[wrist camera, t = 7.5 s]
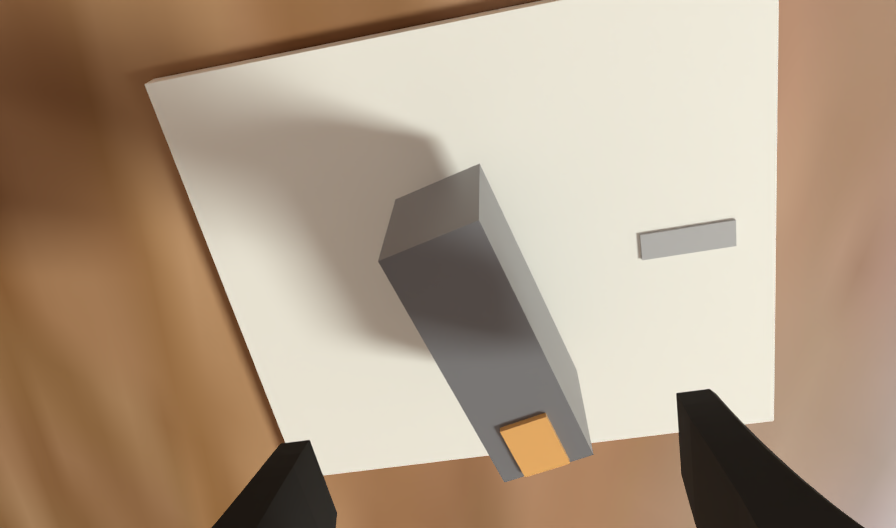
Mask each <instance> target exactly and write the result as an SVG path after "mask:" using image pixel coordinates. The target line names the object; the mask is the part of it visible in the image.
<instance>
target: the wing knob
mask: <svg viewBox="0 0 896 528" xmlns="http://www.w3.org/2000/svg"><path fill="white" fill-rule="evenodd" d="M378 262H379V264H380V266H381V267H382V269H383V271H384V273H385V274H386V276H387V278H388V280H389V281H390V283H391V285H392V287H393V288H394V290H395V292H396V294H397V295H398V297H399V299H400V301H401V302H402V304H403V306H404V308H405V309H406V311H407V313H408V315H409V316H410V318H411V320H412V322H413V323H414V325H415V327H416V329H417V330H418V332H419V334H420V336H421V337H422V339H423V341H424V343H425V344H426V346H427V348H428V350H429V351H430V353H431V355H432V357H433V358H434V360H435V362H436V364H437V365H438V367H439V369H440V371H441V372H442V374H443V376H444V378H445V379H446V381H447V383H448V384H449V386H450V388H451V390H452V391H453V393H454V395H455V397H456V398H457V400H458V402H459V404H460V405H461V407H462V409H463V411H464V412H465V414H466V416H467V418H468V419H469V421H470V423H471V425H472V426H473V428H474V430H475V432H476V433H477V435H478V437H479V439H480V440H481V442H482V444H483V446H484V447H485V449H486V451H487V453H488V454H489V456H490V458H491V460H492V461H493V463H494V465H495V467H496V468H497V470H498V472H499V474H500V475H501V477H502V479H503V481H504V482H507V481H510V480H514V479H517V478H520V477H523V476H525V477H528V476H531V475H535V474H538V473H541V472H544V471H547V470H551V469H554V468H557V467H560V466H564V465H567V464H570V462H571V461H575V460H578V459H581V458H584V457H588V456H591V455H593V450H592V445H591V440H590V435H589V430H588V425H587V419H586V414H585V409H584V404H583V399H582V394H581V389H580V384H579V379H578V373H577V370H576V368H575V366H574V363H573V361H572V359H571V357H570V355H569V353H568V351H567V348H566V346H565V344H564V342H563V340H562V338H561V336H560V334H559V331H558V329H557V327H556V325H555V323H554V321H553V319H552V317H551V314H550V312H549V310H548V308H547V306H546V304H545V302H544V299H543V297H542V295H541V293H540V291H539V289H538V287H537V285H536V282H535V280H534V278H533V276H532V274H531V272H530V270H529V268H528V265H527V263H526V261H525V259H524V257H523V255H522V253H521V250H520V248H519V246H518V244H517V242H516V240H515V238H514V236H513V233H512V231H511V229H510V227H509V225H508V223H507V221H506V219H505V216H504V214H503V212H502V210H501V208H500V206H499V204H498V202H497V199H496V197H495V195H494V193H493V191H492V189H491V187H490V184H489V182H488V180H487V178H486V176H485V174H484V172H483V170H482V167H481V165H480V163H479V164H477V165H475V166H472V167H470V168H468V169H465V170H463V171H461V172H458V173H456V174H454V175H451V176H449V177H447V178H444V179H442V180H440V181H437V182H435V183H433V184H430V185H428V186H426V187H423V188H421V189H419V190H416V191H414V192H412V193H409V194H407V195H405V196H402V197H400V198H398V199H395V203H394V206H393V210H392V213H391V217H390V220H389V224H388V228H387V231H386V235H385V238H384V242H383V245H382V249H381V252H380V256H379V259H378Z"/></svg>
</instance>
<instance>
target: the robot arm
mask: <svg viewBox="0 0 896 528" xmlns="http://www.w3.org/2000/svg"><path fill="white" fill-rule="evenodd" d="M676 399H677V414H678V429H679V444H680V459H681V474H682V478H683V482H684V485H685V489H686V493H687V496H688V500H689V503H690V507H691V510H692V514H693V517H694V521H695V524H696V527H697V528H864V527H863V526H861V525H860V524H858V523H857V522H856V521H854V520H853V519H852V518H850V517H849V516H848V515H846V514H845V513H844V512H842V511H841V510H840V509H838V508H837V507H836V506H835V505H833V504H832V503H831V502H829V501H828V500H827V499H826V498H824V497H823V496H822V495H821V494H820V493H818V492H817V491H816V490H815V489H814V488H812V487H811V486H810V485H809V484H808V483H806V482H805V481H804V480H803V479H802V478H801V477H799V476H798V475H797V474H796V473H795V472H794V471H793V470H791V469H790V468H789V467H788V466H787V465H786V464H785V463H784V462H783V461H782V460H781V459H779V458H778V457H777V456H776V455H775V454H774V453H773V452H772V451H771V450H770V449H769V448H768V447H767V446H765V445H764V444H763V443H762V442H761V441H760V440H759V439H758V438H757V437H756V436H755V435H754V434H753V433H752V432H751V431H750V430H749V429H748V428H747V427H746V426H745V425H744V424H743V423H742V422H741V420H740V419H739V418H738V417H737V416H736V415H735V414H734V413H733V412H732V411H731V410H730V409H729V408H728V407H727V405H726V404H725V403H724V402H723V401H722V400H721V399H720V398H719V396H718V395H717V394H716V393H715V392H713V391H712V390H711V389H704V390H696V391H689V392H681V393H676ZM336 518H337V512H336V509H335V506H334V504H333V501H332V498H331V496H330V493H329V490H328V488H327V485H326V482H325V480H324V477H323V474H322V472H321V469H320V466H319V463H318V461H317V458H316V455H315V453H314V450H313V447H312V445H311V442H310V440H305V441H297V442H289V443H281V444H280V445H279V446H278V448H277V449H276V450H275V451H274V452H273V454H272V455H271V456H270V457H269V458H268V460H267V461H266V462H265V463H264V465H263V466H262V467H261V468H260V470H259V471H258V472H257V473H256V475H255V476H254V477H253V478H252V480H251V481H250V482H249V483H248V485H247V486H246V487H245V488H244V490H243V491H242V492H241V493H240V494H239V496H238V497H237V498H236V499H235V500H234V502H233V503H232V504H231V505H230V506H229V508H228V509H227V510H226V511H225V513H224V514H223V515H222V516H221V517H220V519H219V520H218V521H217V522H216V523H215V524H214V525H213V527H212V528H336Z"/></svg>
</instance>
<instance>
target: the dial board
mask: <svg viewBox="0 0 896 528" xmlns="http://www.w3.org/2000/svg"><path fill="white" fill-rule="evenodd" d="M778 12H779V0H541V1H536V2H531V3H526V4H521V5H516V6H511V7H506V8H502V9H497V10H492V11H487V12H482V13H477V14H472V15H467V16H462V17H457V18H452V19H447V20H442V21H437V22H432V23H427V24H423V25H418V26H413V27H408V28H403V29H398V30H393V31H388V32H383V33H378V34H373V35H368V36H363V37H358V38H353V39H348V40H344V41H339V42H334V43H329V44H324V45H319V46H314V47H309V48H304V49H299V50H294V51H289V52H284V53H279V54H274V55H269V56H265V57H260V58H255V59H250V60H245V61H240V62H235V63H230V64H225V65H220V66H215V67H210V68H205V69H200V70H195V71H190V72H186V73H181V74H176V75H171V76H166V77H161V78H156V79H153V80H151V81H149V82H148V83H146V84H144V85H145V87H146V90H147V92H148V95H149V97H150V100H151V102H152V105H153V108H154V110H155V113H156V115H157V118H158V120H159V123H160V125H161V128H162V130H163V133H164V136H165V138H166V141H167V143H168V146H169V148H170V151H171V153H172V156H173V158H174V161H175V164H176V166H177V169H178V171H179V174H180V176H181V179H182V181H183V184H184V186H185V189H186V192H187V194H188V197H189V199H190V202H191V204H192V207H193V209H194V212H195V214H196V217H197V220H198V222H199V225H200V227H201V230H202V232H203V235H204V237H205V240H206V242H207V245H208V247H209V250H210V253H211V255H212V258H213V260H214V263H215V265H216V268H217V270H218V273H219V275H220V278H221V281H222V283H223V286H224V288H225V291H226V293H227V296H228V298H229V301H230V303H231V306H232V309H233V311H234V314H235V316H236V319H237V321H238V324H239V326H240V329H241V331H242V334H243V337H244V339H245V342H246V344H247V347H248V349H249V352H250V354H251V357H252V359H253V362H254V365H255V367H256V370H257V372H258V375H259V377H260V380H261V382H262V385H263V387H264V390H265V393H266V395H267V398H268V400H269V403H270V405H271V408H272V410H273V413H274V415H275V418H276V421H277V423H278V426H279V428H280V431H281V433H282V436H283V438H284V441H285V443H289V442H297V441H305V440H310V442H311V445H312V447H313V450H314V453H315V455H316V458H317V461H318V463H319V466H320V469H321V472H322V474H323V475H330V474H339V473H347V472H355V471H363V470H372V469H380V468H388V467H397V466H405V465H413V464H421V463H430V462H438V461H446V460H454V459H463V458H471V457H479V456H487V455H489V454H488V453H487V451H486V449H485V447H484V446H483V444H482V442H481V440H480V439H479V437H478V435H477V433H476V432H475V430H474V428H473V426H472V425H471V423H470V421H469V419H468V418H467V416H466V414H465V412H464V411H463V409H462V407H461V405H460V404H459V402H458V400H457V398H456V397H455V395H454V393H453V391H452V390H451V388H450V386H449V384H448V383H447V381H446V379H445V378H444V376H443V374H442V372H441V371H440V369H439V367H438V365H437V364H436V362H435V360H434V358H433V357H432V355H431V353H430V351H429V350H428V348H427V346H426V344H425V343H424V341H423V339H422V337H421V336H420V334H419V332H418V330H417V329H416V327H415V325H414V323H413V322H412V320H411V318H410V316H409V315H408V313H407V311H406V309H405V308H404V306H403V304H402V302H401V301H400V299H399V297H398V295H397V294H396V292H395V290H394V288H393V287H392V285H391V283H390V281H389V280H388V278H387V276H386V274H385V273H384V271H383V269H382V267H381V266H380V264H379V262H378V259H379V256H380V252H381V249H382V245H383V242H384V238H385V235H386V231H387V228H388V224H389V220H390V217H391V213H392V210H393V206H394V203H395V199H398V198H400V197H402V196H405V195H407V194H409V193H412V192H414V191H416V190H419V189H421V188H423V187H426V186H428V185H430V184H433V183H435V182H437V181H440V180H442V179H444V178H447V177H449V176H451V175H454V174H456V173H458V172H461V171H463V170H465V169H468V168H470V167H472V166H475V165H477V164H479V163H480V165H481V167H482V170H483V172H484V174H485V176H486V178H487V180H488V182H489V184H490V187H491V189H492V191H493V193H494V195H495V197H496V199H497V202H498V204H499V206H500V208H501V210H502V212H503V214H504V216H505V219H506V221H507V223H508V225H509V227H510V229H511V231H512V233H513V236H514V238H515V240H516V242H517V244H518V246H519V248H520V250H521V253H522V255H523V257H524V259H525V261H526V263H527V265H528V268H529V270H530V272H531V274H532V276H533V278H534V280H535V282H536V285H537V287H538V289H539V291H540V293H541V295H542V297H543V299H544V302H545V304H546V306H547V308H548V310H549V312H550V314H551V317H552V319H553V321H554V323H555V325H556V327H557V329H558V331H559V334H560V336H561V338H562V340H563V342H564V344H565V346H566V348H567V351H568V353H569V355H570V357H571V359H572V361H573V363H574V366H575V368H576V370H577V373H578V379H579V384H580V389H581V394H582V399H583V404H584V409H585V414H586V419H587V425H588V430H589V435H590V440H591V443H595V442H603V441H611V440H620V439H628V438H636V437H644V436H653V435H661V434H669V433H677V432H679V429H678V414H677V399H676V393H681V392H689V391H696V390H704V389H711V390H712V391H713V392H715V393H716V394H717V395H718V396H719V398H720V399H721V400H722V401H723V402H724V403H725V404H726V405H727V407H728V408H729V409H730V410H731V411H732V412H733V413H734V414H735V415H736V416H737V417H738V418H739V419H740V420H741V422H742V423H743V424H752V423H760V422H768V421H774V361H775V273H776V186H777V99H778Z"/></svg>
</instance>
